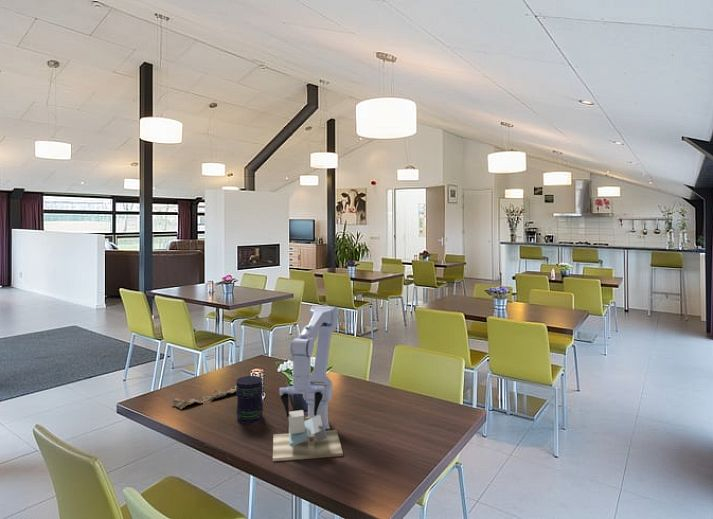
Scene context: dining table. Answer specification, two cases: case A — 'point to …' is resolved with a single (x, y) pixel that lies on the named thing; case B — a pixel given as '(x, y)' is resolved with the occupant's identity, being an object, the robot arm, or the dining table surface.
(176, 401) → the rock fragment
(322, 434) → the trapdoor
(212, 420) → the dining table surface
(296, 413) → the limestone block
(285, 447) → the beige slab
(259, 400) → the storage jar
